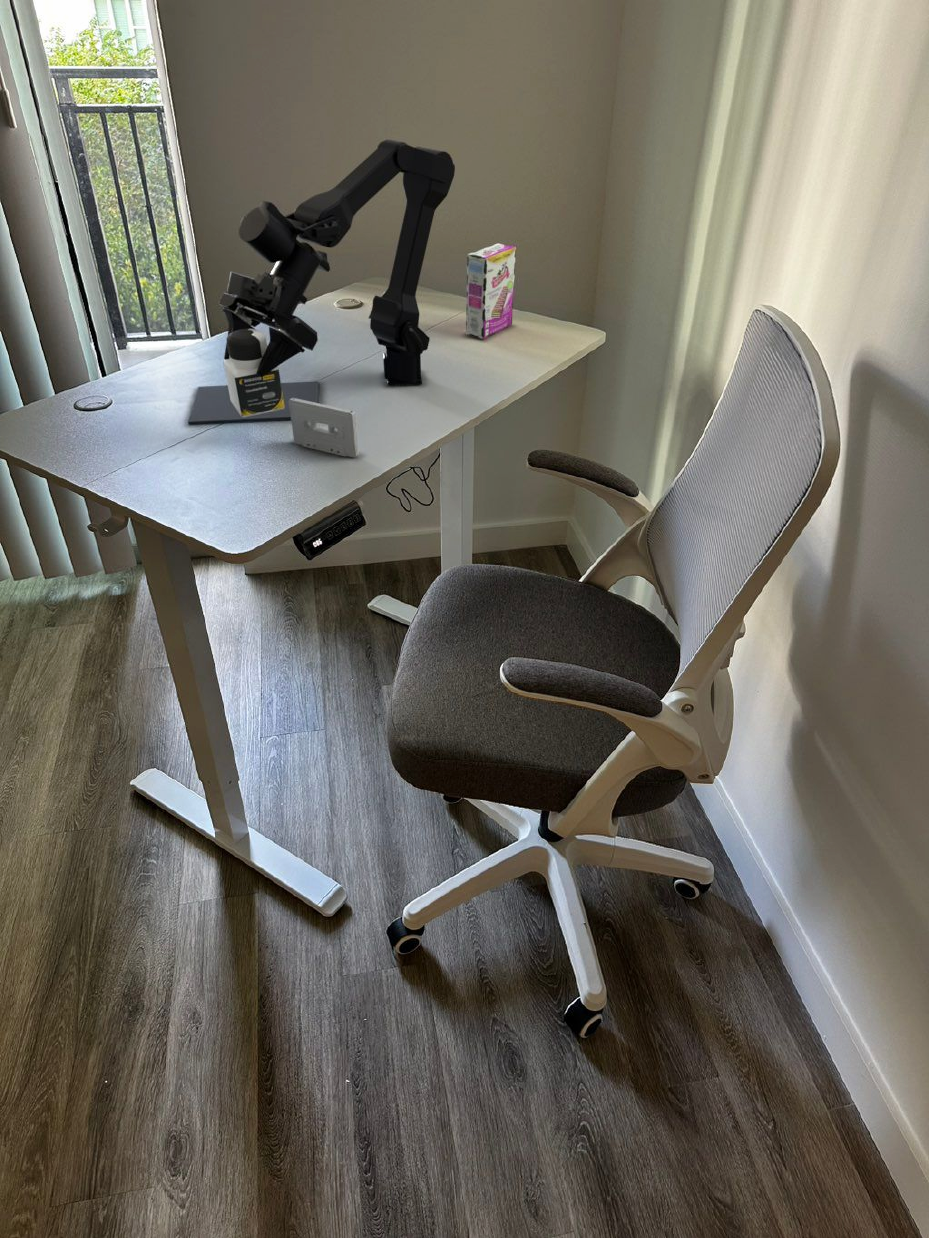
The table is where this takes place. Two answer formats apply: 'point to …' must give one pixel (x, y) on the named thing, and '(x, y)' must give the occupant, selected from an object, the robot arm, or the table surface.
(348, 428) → the cassette
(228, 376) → the medicine bottle
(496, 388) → the table surface
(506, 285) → the candy bar box
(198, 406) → the desk mat
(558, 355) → the table surface
